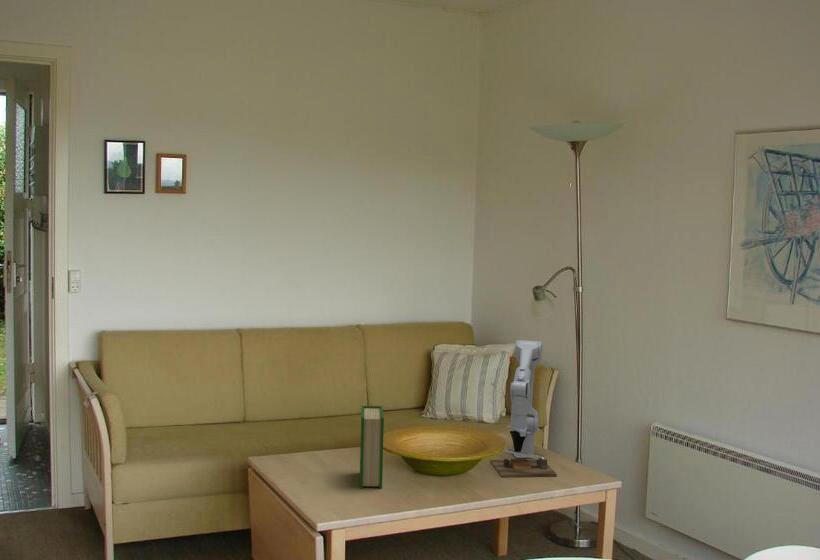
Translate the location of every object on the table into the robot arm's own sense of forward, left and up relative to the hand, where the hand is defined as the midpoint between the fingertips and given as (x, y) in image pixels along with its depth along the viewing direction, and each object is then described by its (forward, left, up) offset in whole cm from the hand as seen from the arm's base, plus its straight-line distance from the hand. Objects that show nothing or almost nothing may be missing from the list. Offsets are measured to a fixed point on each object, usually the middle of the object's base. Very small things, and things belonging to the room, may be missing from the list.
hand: (517, 451), depth 323 cm
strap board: (0, +2, -7) cm, 7 cm away
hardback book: (+11, -54, -7) cm, 55 cm away
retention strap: (0, +2, -2) cm, 3 cm away
